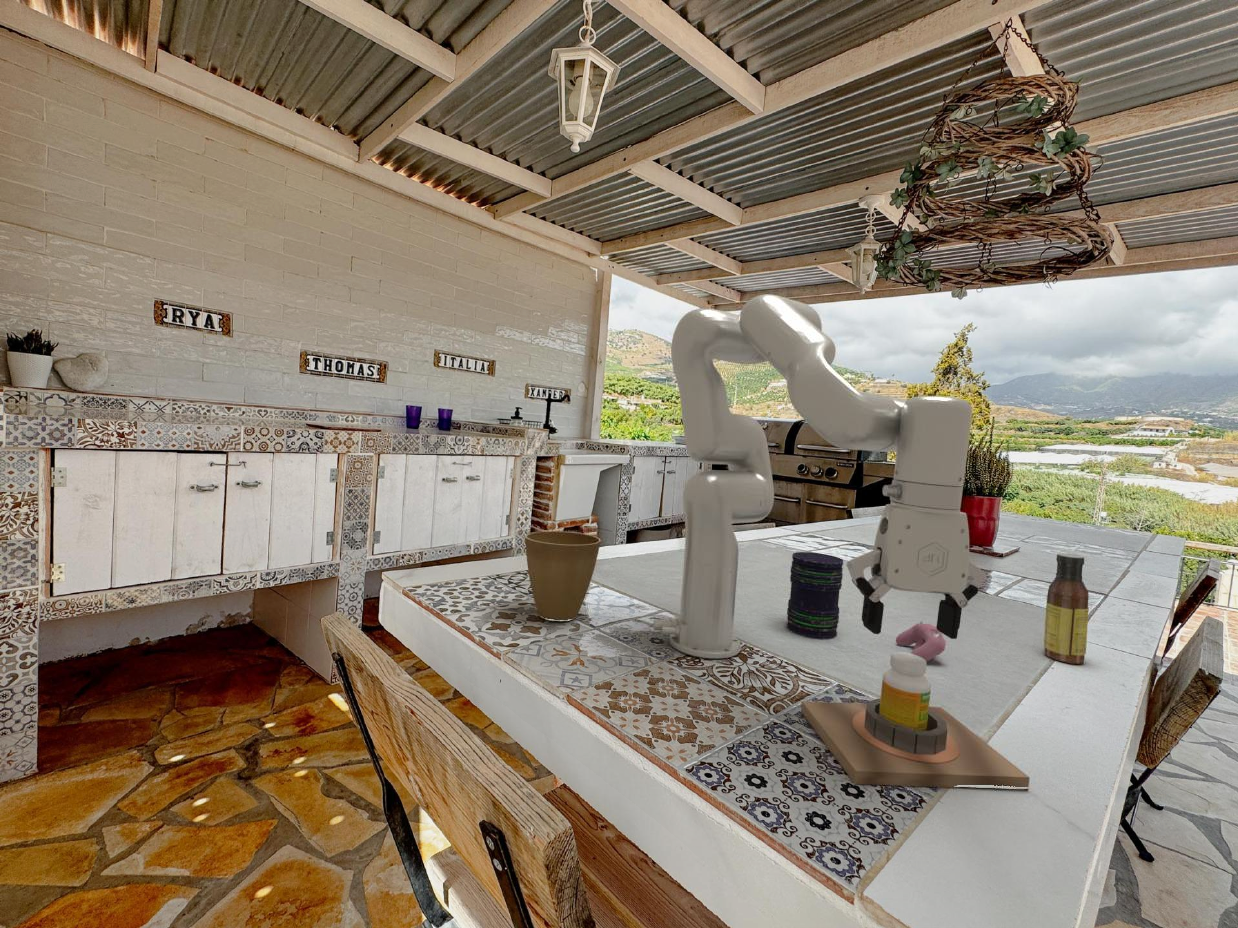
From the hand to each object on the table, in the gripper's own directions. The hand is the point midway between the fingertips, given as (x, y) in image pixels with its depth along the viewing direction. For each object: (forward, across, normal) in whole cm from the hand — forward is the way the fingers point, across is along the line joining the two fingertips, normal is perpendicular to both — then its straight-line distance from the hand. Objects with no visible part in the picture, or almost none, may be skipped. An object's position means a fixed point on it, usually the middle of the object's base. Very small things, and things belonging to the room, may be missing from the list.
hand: (908, 632), depth 70 cm
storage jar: (+16, +6, +41) cm, 44 cm away
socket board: (+14, 0, -1) cm, 15 cm away
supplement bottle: (+13, 0, -1) cm, 13 cm away
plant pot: (+16, -46, +42) cm, 64 cm away
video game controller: (+15, +22, +31) cm, 41 cm away
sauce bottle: (+15, +50, +32) cm, 62 cm away
